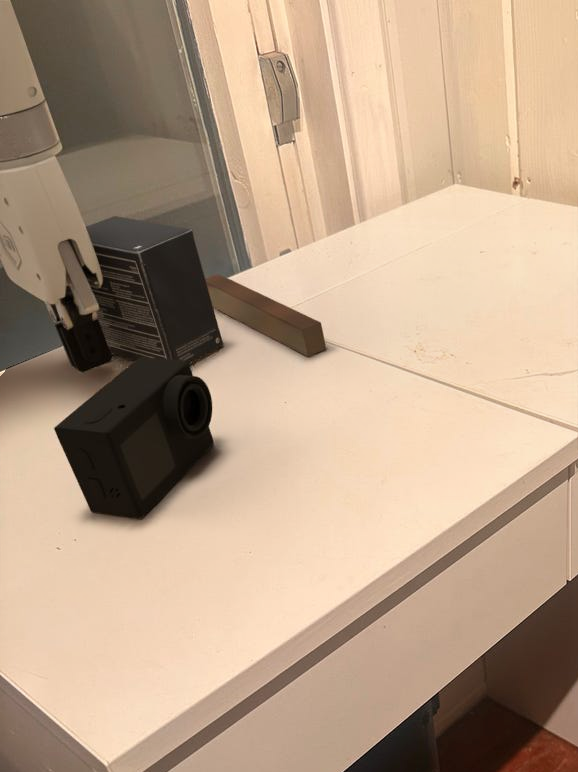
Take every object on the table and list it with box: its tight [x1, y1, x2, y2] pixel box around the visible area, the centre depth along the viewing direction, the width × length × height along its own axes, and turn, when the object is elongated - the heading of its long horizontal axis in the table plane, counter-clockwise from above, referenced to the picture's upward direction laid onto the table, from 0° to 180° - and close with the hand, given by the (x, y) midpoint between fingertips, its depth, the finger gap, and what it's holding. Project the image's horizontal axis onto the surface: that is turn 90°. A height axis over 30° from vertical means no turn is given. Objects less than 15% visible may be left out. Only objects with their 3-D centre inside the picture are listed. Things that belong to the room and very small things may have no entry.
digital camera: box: [53, 357, 215, 519], centre depth 65 cm, size 10×5×7 cm, turn 162°
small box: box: [85, 215, 224, 365], centre depth 81 cm, size 11×6×10 cm, turn 56°
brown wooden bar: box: [205, 273, 327, 358], centre depth 85 cm, size 18×2×2 cm, turn 42°
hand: (92, 364), depth 81 cm, fingers closed
